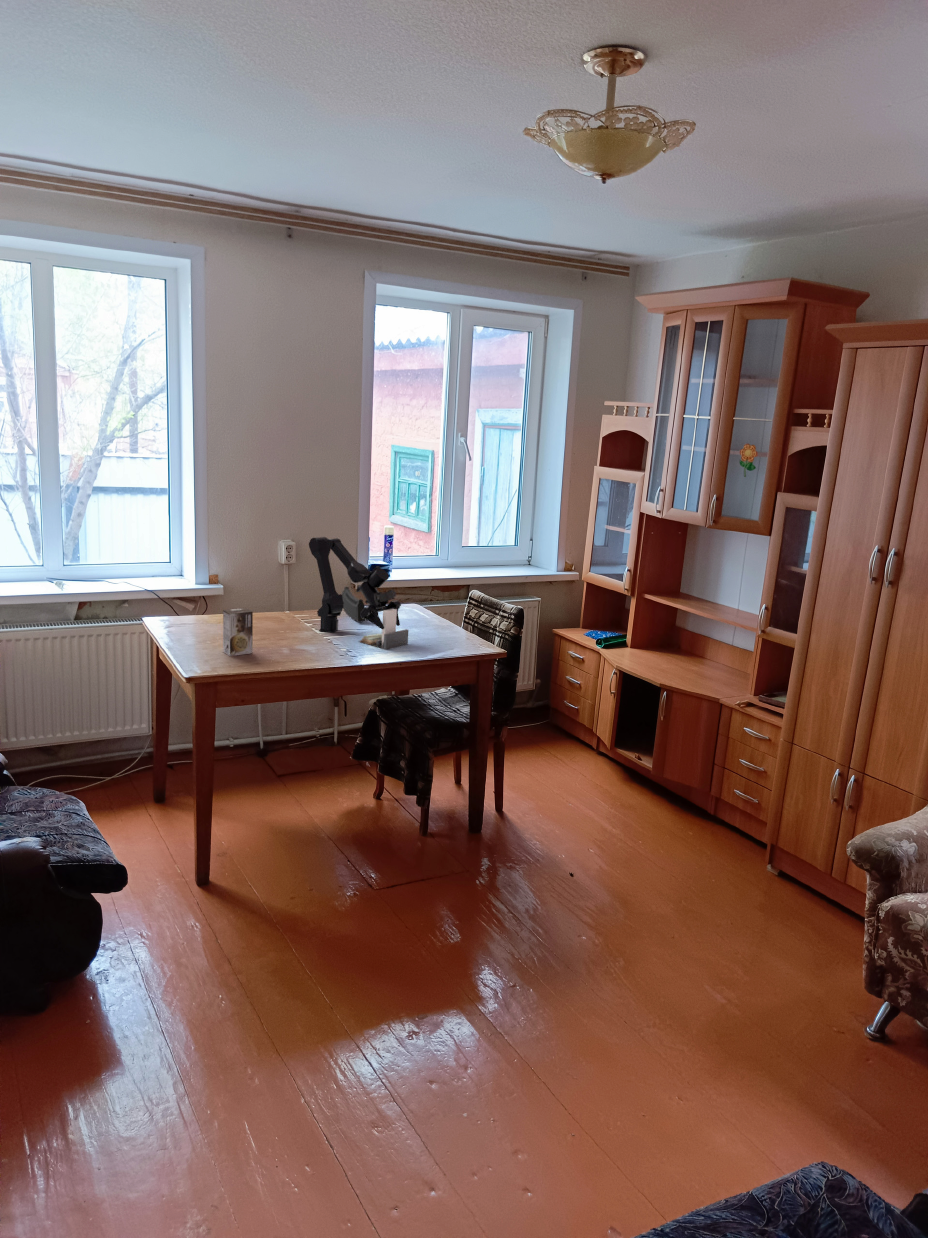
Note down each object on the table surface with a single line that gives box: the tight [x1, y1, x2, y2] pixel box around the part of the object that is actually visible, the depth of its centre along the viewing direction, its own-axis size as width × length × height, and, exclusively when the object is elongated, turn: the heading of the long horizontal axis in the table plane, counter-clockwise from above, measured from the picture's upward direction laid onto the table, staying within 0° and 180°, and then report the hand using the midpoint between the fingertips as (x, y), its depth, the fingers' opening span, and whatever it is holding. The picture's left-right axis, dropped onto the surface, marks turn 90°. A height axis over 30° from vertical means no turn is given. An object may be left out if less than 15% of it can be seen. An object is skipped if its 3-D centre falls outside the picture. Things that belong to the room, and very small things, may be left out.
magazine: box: [341, 586, 366, 623], centre depth 392 cm, size 17×3×30 cm
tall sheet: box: [381, 609, 397, 646], centre depth 344 cm, size 2×6×14 cm, turn 143°
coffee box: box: [222, 607, 254, 657], centre depth 321 cm, size 9×6×16 cm
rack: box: [358, 628, 410, 651], centre depth 347 cm, size 15×13×7 cm
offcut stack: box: [359, 633, 382, 646], centre depth 350 cm, size 6×11×2 cm, turn 143°
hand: (391, 627), depth 344 cm, fingers open, 9 cm apart
